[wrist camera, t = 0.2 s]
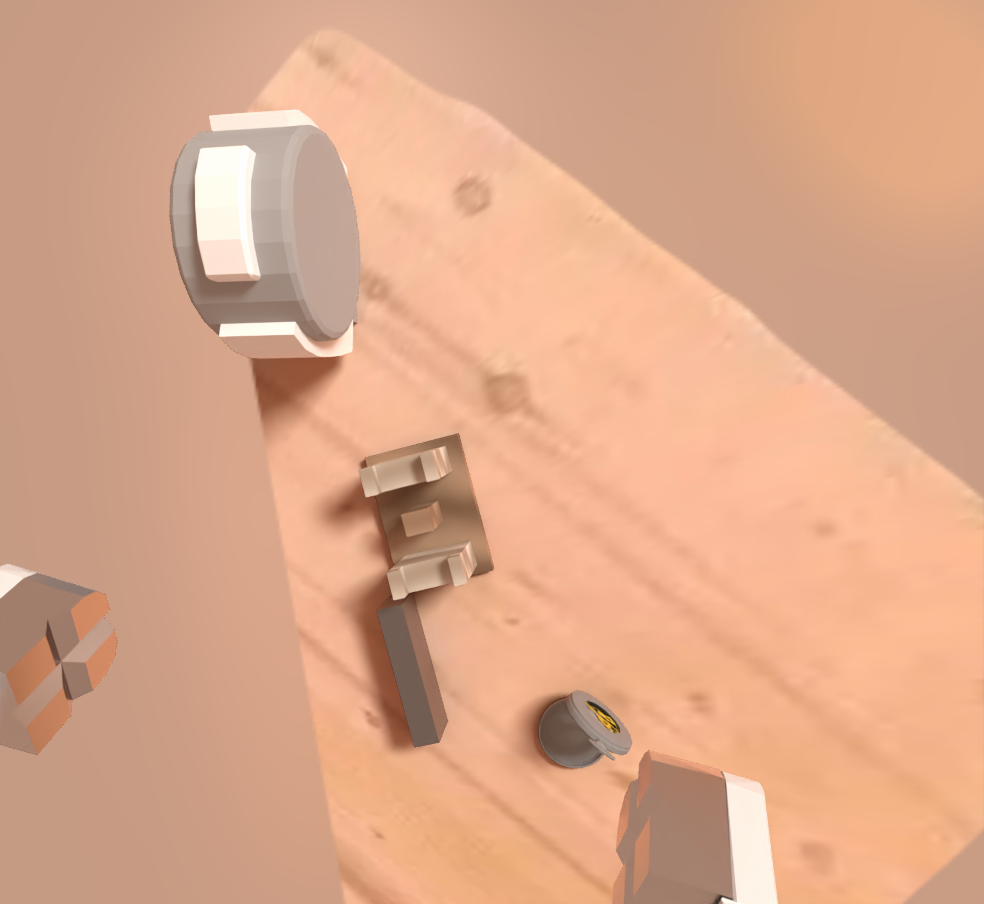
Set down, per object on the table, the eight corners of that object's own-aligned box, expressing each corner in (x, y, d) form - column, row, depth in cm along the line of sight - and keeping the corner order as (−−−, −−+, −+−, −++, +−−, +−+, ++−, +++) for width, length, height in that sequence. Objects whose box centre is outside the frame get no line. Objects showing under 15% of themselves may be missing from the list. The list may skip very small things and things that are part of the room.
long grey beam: (448, 720, 67) (439, 742, 62) (423, 725, 67) (413, 747, 63) (413, 591, 66) (401, 604, 62) (388, 596, 66) (375, 610, 62)
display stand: (494, 567, 65) (483, 589, 57) (403, 588, 66) (381, 612, 58) (458, 433, 64) (443, 437, 57) (367, 456, 65) (341, 464, 58)
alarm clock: (281, 170, 64) (149, 66, 44) (370, 165, 63) (276, 56, 43) (289, 364, 66) (163, 350, 46) (376, 362, 65) (287, 346, 44)
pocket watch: (537, 758, 66) (530, 822, 56) (542, 673, 65) (536, 722, 55) (624, 768, 65) (633, 835, 55) (630, 681, 64) (640, 733, 54)
